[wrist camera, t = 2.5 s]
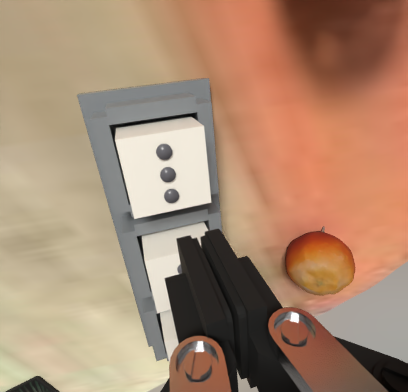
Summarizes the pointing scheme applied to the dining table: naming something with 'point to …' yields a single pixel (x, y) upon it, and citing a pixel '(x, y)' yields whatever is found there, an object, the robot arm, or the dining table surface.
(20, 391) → the smartphone
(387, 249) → the dining table surface
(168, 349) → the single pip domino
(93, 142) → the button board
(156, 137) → the three dot tile
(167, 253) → the two dot tile
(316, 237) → the fruit
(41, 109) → the dining table surface
